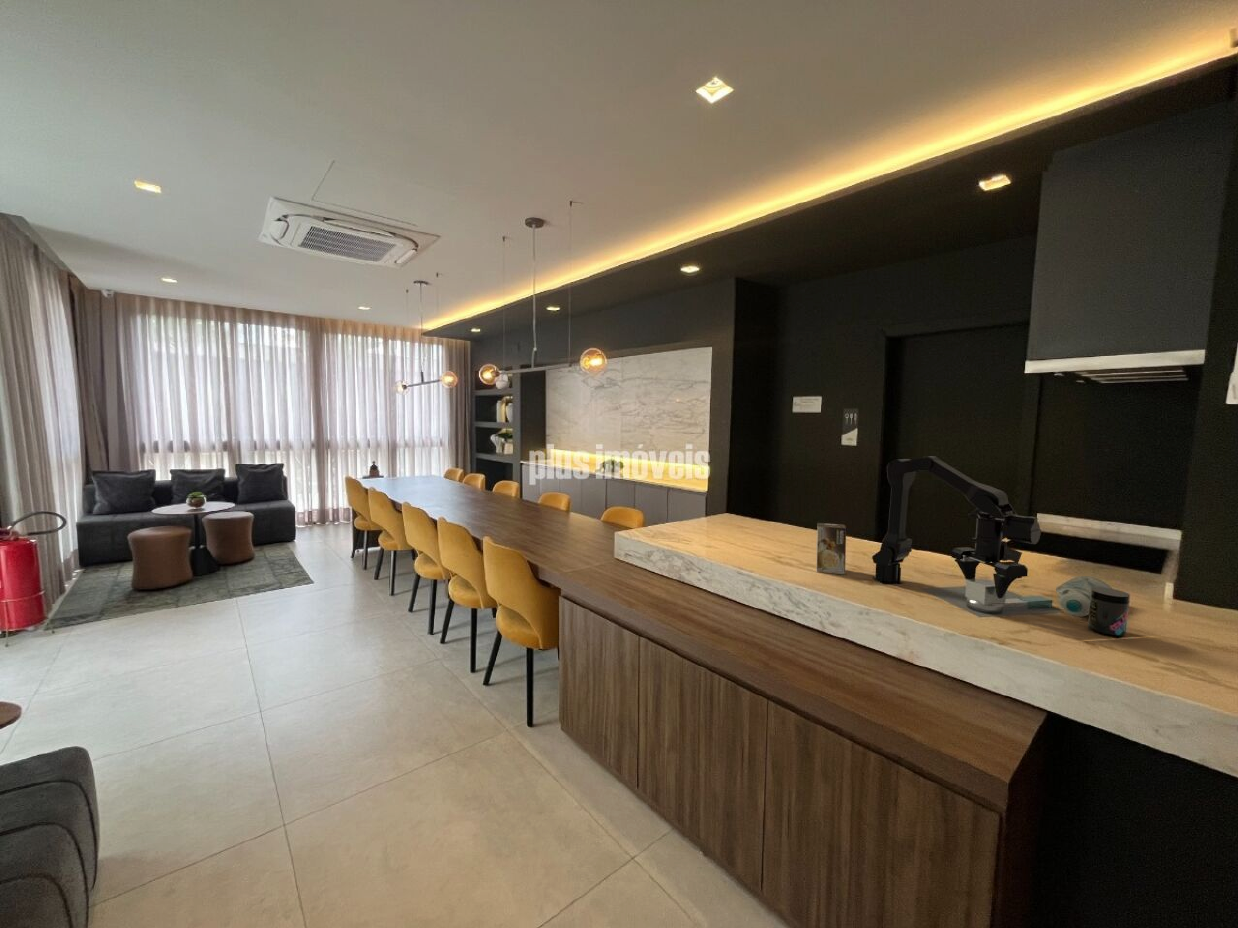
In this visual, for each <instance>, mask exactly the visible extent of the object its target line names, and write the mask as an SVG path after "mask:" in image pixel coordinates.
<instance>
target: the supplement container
mask: <svg viewBox="0 0 1238 928" xmlns="http://www.w3.org/2000/svg"><path fill="white" fill-rule="evenodd" d="M1090 595H1091V597H1090V609H1089V615H1088V623H1087V629H1088V630H1089V631H1091V632H1093V633H1095V634H1098V635H1101V636H1105V637H1109V638H1114V639H1124V638H1125V637H1126V636H1127V631H1128V621H1129V620H1128V619H1129V609H1130V600H1131V599H1130V598H1131V594H1129V593H1128V592H1126V591H1123V590H1119V589H1115V588H1113V589H1111V588H1104V587H1093V588H1091V594H1090Z"/></svg>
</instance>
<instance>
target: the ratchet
mask: <svg viewBox="0 0 1238 928" xmlns="http://www.w3.org/2000/svg"><path fill="white" fill-rule="evenodd" d="M1053 602H1054V601H1053V599H1051V598H1048V597H1045V596H1042V595H1030V596H1029V595H1028V596H1023V597H1018V598H1017V599H1005V604H991V605H983V604H981V603H979V602H977V601H974V600H972V599H970V598H967V603H966V606H967V607H968V608H969V609H971V610H974V611H977V612H980V613H985V614H1001V613H1002V612H1003V610H1009V609H1027V608H1028V609H1035V608H1053Z"/></svg>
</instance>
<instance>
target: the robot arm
mask: <svg viewBox="0 0 1238 928" xmlns="http://www.w3.org/2000/svg"><path fill="white" fill-rule="evenodd" d="M925 471H927V472H929V473H930V474H932V475H933V476H935V477H936V478H938V479H939V480H941V481H942V482H945V484H948V485H949V486H951V487H953V488H954V489H955V490H957V491H958V492H961V494H963V496H964V497H966V499H967V501H968V502H969V503H970V504H972V505H973V506H974V507H975V508H976V509H975V510H973V511H972V512H971V513H969V514H967V518H972V519H976V525H975V528H976V529H975V537H971V542H972V543H975V544H974V548H972V547H968V546H967V547H954V548H953V549H951V553H950V554H951V556H950V558H953V559H954V562H956V564H957V566H958V567H959V569H960V570H961V572H962V574H963V576H964V578H965V580H966V579H976V572H977V567H978V566H979V565H980V564H983V565H987V566H989V567H992V568H993V569H994V571H995V573H993V581H994V582H995V588H996V594H997V597H998V598H1003V596H1004V594H1005V593H1006V591H1007V590H1008V589H1009V587H1010V586H1011V584H1012V583H1013V582H1014V581H1015V580H1017V579H1022V578H1023V577H1028V573H1029V572H1028V571H1029V569H1028V567H1027V566H1026V565H1025V564H1022V563H1020V560H1021V557H1022V554H1023V552H1021V551H1018V550H1017V549H1013V548H1010V547H1008V544H1007V541H1005V540H1003V537H1005V538H1006V540H1009V541H1015V542H1020V543H1026V544H1030V545H1036V544H1038V542H1039V541H1040V538H1041V533H1042V531H1041V530H1042V529H1041V527H1040V523H1039V522H1038V517H1036V516H1025V515H1018V513H1017V512H1016V510H1015V509H1014V508H1013V506H1012V504H1010V502H1009V499H1008V495H1007V493H1005V492H1004V491H1003V490H1000V489H997V488H995V487H993V486H992V485H989V484H988V485H987V484H984V483H980V482H979V481H975V480H974V479H972V478H971V477H970V476H967V475H966V474H964V473H962V472H961V471H960V470H957V469H956V468H954V467H952V466H951V465H949V464H947V463H945V462H944V461H942V460H940V458H938V457H937V456H934V455H931V456H930V455H929V456H923V457H921V458H915V459H909V458H903V459H894V460H891V461H890V462H888V464H887V466H886V474H887V476H886V477H887V481H888V483H889V485H890V487H891V488H890V489H891V490H890V503H889V512H888V514H889V515H888V525H887V526H888V527H887V532H886V534H885V536H883V539H882V541H881V546H880V550H879V551H877V552H876V553H875V554H874V555H872V556H871V559H872V562H873V564H875V576H872V577H871V578H872V579H873V580H874V581H877V582H879V583H881V584H882V585H885V586H886V585H902V584H904V582H903V581H901V578H902V567H901V563H904V561H905V559H906V558H907V557H908V556H909V555H910V553H912V552H913V551H912V544H913V539H912V538H908V536H907V534H906V530H907V529H906V527H907V526H906V525H907V516H908V504H909V493H910V487H911V486H912V484H913V483H914V481H915V478H916V475H917V473H919V472H920V473H921V472H925Z"/></svg>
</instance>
